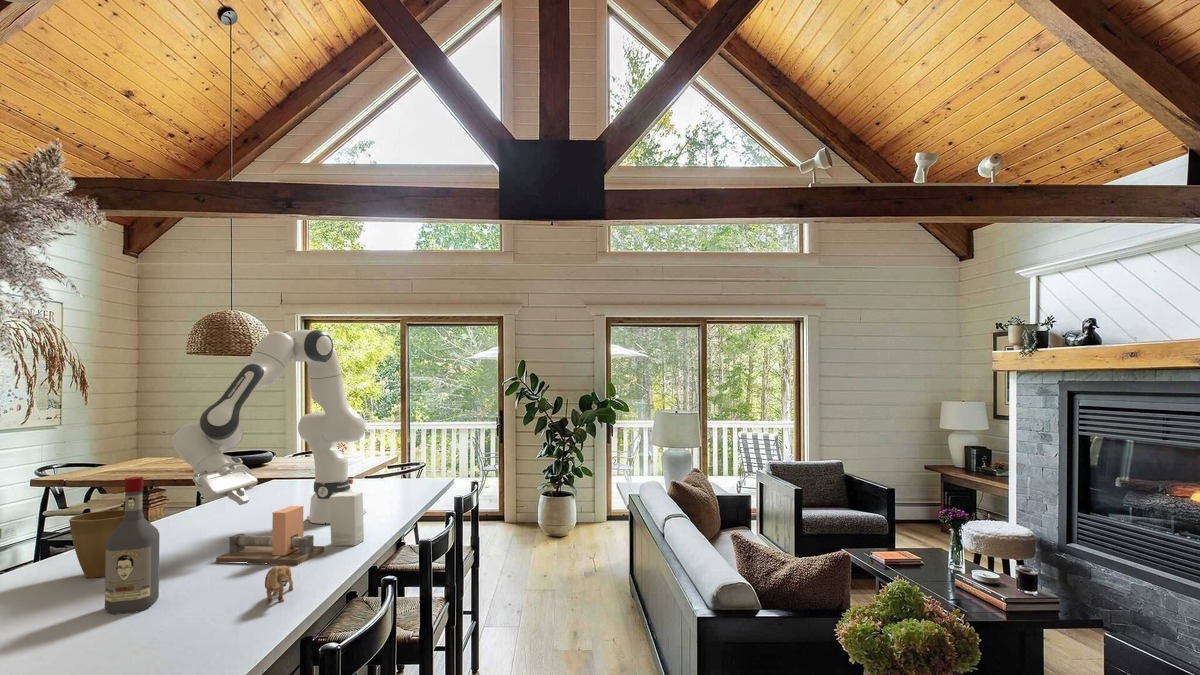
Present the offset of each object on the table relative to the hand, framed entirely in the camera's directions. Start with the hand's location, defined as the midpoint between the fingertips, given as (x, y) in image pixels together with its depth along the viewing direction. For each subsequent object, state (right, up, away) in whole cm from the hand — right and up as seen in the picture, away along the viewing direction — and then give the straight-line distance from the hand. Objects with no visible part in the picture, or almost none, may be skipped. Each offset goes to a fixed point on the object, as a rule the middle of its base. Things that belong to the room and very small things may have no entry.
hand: (245, 502), depth 198 cm
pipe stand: (+9, -15, -2) cm, 18 cm away
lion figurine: (+28, -14, -37) cm, 48 cm away
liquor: (-5, -14, -41) cm, 44 cm away
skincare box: (+26, -16, +12) cm, 33 cm away
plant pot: (-30, -16, -16) cm, 38 cm away
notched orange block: (+14, -14, -2) cm, 19 cm away
